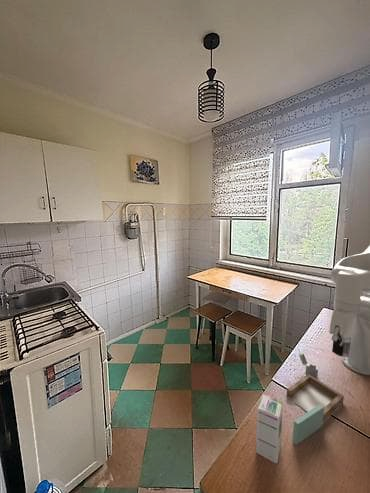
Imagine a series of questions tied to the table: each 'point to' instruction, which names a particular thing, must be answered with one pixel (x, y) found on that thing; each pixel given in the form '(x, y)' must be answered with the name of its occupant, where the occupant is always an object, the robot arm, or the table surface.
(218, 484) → the table surface
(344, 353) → the pill bottle
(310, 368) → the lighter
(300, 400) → the bay
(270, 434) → the syrup box
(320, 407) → the gate
